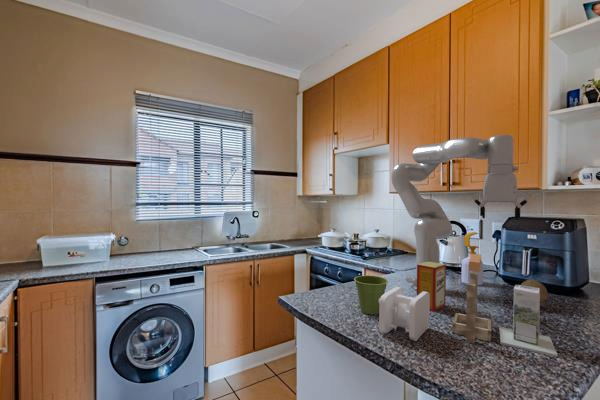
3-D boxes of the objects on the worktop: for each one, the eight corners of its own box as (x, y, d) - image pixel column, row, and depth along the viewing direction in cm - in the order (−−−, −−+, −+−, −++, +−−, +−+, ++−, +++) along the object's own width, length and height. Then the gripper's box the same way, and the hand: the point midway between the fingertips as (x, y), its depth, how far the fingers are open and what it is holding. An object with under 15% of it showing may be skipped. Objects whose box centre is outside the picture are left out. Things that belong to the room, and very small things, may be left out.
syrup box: (539, 338, 84) (540, 287, 84) (538, 346, 79) (539, 292, 79) (514, 332, 87) (515, 283, 87) (512, 339, 83) (513, 287, 83)
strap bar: (468, 270, 98) (469, 261, 98) (471, 261, 113) (472, 253, 113) (479, 271, 96) (479, 262, 96) (481, 262, 111) (481, 254, 111)
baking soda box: (428, 301, 116) (428, 260, 116) (445, 305, 111) (445, 263, 111) (416, 306, 110) (417, 263, 110) (434, 311, 105) (434, 266, 105)
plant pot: (358, 303, 113) (358, 273, 113) (390, 308, 107) (390, 277, 107) (349, 313, 102) (349, 281, 102) (384, 320, 97) (384, 286, 97)
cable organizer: (414, 346, 79) (414, 303, 79) (377, 335, 86) (377, 295, 86) (430, 328, 91) (430, 290, 91) (396, 319, 98) (396, 284, 98)
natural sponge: (554, 312, 106) (554, 284, 106) (526, 309, 108) (526, 282, 108) (539, 303, 115) (539, 277, 115) (513, 301, 117) (513, 276, 117)
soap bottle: (487, 285, 139) (487, 233, 139) (467, 285, 139) (468, 233, 139) (476, 280, 147) (476, 231, 148) (457, 280, 148) (458, 231, 148)
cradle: (450, 338, 84) (451, 282, 85) (457, 317, 100) (457, 270, 100) (490, 347, 79) (491, 288, 79) (491, 324, 94) (491, 274, 94)
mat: (500, 344, 81) (500, 341, 81) (499, 328, 91) (499, 326, 91) (557, 357, 75) (557, 354, 75) (549, 338, 85) (549, 336, 85)
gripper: (529, 170, 103) (529, 219, 103) (472, 172, 113) (472, 217, 113) (532, 168, 97) (531, 220, 97) (471, 170, 107) (470, 218, 107)
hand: (499, 218), depth 105 cm, fingers open, 9 cm apart
